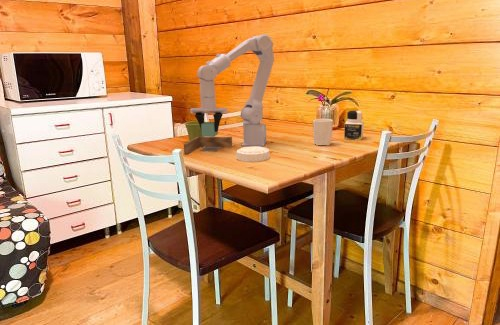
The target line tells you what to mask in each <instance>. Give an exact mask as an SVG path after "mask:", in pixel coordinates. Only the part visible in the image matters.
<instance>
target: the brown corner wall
mask: <svg viewBox="0 0 500 325" xmlns="http://www.w3.org/2000/svg"><path fill="white" fill-rule="evenodd" d="M200 147H203V148H204V147H222V148H233V137H232V136H214V137H196V138H194V139H192V140H190V141H189V140H188V141H187V142H185V143H183V151H184V152H183V154H184V155H189V154H190V153H192V152H193V151H195V150H197V149H198V148H200Z"/></svg>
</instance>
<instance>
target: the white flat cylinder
mask: <svg viewBox="0 0 500 325" xmlns="http://www.w3.org/2000/svg"><path fill="white" fill-rule="evenodd" d="M235 153H236V160H238V161H240V162H245V163H258V162H264V161H268V160H269V159H270V158H271V155H270V149H269V148H267V147H264V146H242V147H241V148H238V149H237V150H236V152H235Z"/></svg>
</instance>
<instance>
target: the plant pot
mask: <svg viewBox="0 0 500 325" xmlns="http://www.w3.org/2000/svg"><path fill="white" fill-rule="evenodd" d="M183 125H185V128H186V132H187V136H188V141H190V140H192V139H194V138H196V137H202V131H201V128H200V125H199V123H198V121H197V120H195V121H187V122H184V124H183Z"/></svg>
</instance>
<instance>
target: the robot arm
mask: <svg viewBox="0 0 500 325" xmlns="http://www.w3.org/2000/svg"><path fill="white" fill-rule="evenodd" d="M273 47H274V42H273V40H272V38H271V37H270V36H269V35H268V34H266V33H265V34H264V33H263V34H260V35H252V36H251V37H250V38H247V39H246V40H244V41H242V42H241V43H240V44H238V45H237V46H235V47H234V48H233V49H231V50H230V51H229V52H228V53H221V54H220V53H217V54H216V55H215V58H213V59H211V60H208V61H206V62H205V63H206V64H205V65H201V66H200V67H198V70H197V73H196V75H197V77H198V79H199V95H200V97H199V98H200V107H191V108H190V109H189V110H190V111H189V112H190V114H193V115H194V114H195V115H194V117H195V119H196V121H198V123H199V125H200V128H201V124H202V123H204V122H205V116H206V114H213V115H212V117H213V122H214V123H215V132H217V131H218V132H219V126H220V123H221V120H222V117H223V114H227V113H228V108H227V107H217V106H216V88H215V87H216V85H215V78H216V77H217V76H218V75H219V74H220V73H222V72H225V70H226V69H229V67H230V66H231V63H232V61H234V60H236V59H237V58H238V57H240V56H242V55H243V54H245V53H247V52H252V53H253V54H254V55H256V57H257V58H258V61H259V64H258V66H257V71H256V73H255V78H254V82H253V85H252V88H251V92H250V96H249V98H248V99H247V100H246V102H245V104H244V106H243V107H242V108H241V110H240V117H241V119H242V120H243V122H242V124H243V128H242V129H243V130H242V131H243V143H241V146H242V147H252V146H261V147H264V146H265V145H266V143H267V124H266V123H263V122H261V121H262V120H263V117H264V114H263V110H264V106H263V100H264V99H263V98H264V96H265V92H266V89H267V85H268V82H269V79H270V76H271V72H272V69H273V65H274V62H275V57H274V50H273ZM201 131H202V129H201Z"/></svg>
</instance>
